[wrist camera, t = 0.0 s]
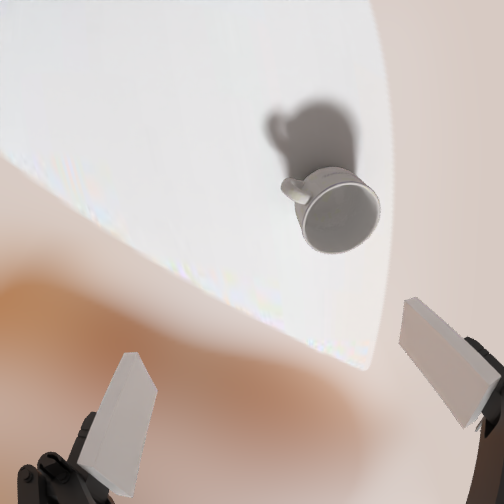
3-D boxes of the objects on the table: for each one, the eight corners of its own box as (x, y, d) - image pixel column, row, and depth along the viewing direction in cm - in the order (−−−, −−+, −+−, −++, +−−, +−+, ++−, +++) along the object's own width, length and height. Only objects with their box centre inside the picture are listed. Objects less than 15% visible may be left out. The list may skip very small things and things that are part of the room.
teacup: (368, 190, 39) (394, 215, 32) (321, 237, 43) (338, 269, 37) (307, 130, 32) (330, 145, 26) (255, 188, 37) (264, 217, 30)
